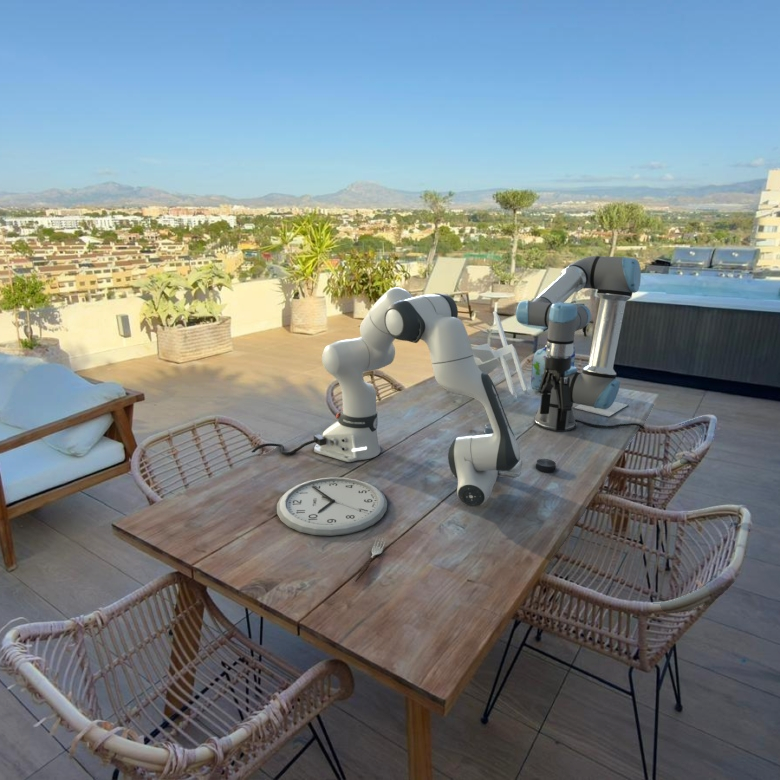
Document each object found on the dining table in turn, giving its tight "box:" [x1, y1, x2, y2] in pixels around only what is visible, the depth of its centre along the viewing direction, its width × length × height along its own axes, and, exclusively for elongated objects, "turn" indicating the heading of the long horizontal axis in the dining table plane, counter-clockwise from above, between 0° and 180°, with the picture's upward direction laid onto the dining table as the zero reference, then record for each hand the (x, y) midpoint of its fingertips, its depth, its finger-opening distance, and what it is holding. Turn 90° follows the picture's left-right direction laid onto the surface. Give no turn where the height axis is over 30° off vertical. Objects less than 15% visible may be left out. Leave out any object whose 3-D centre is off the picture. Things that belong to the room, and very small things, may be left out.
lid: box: [535, 458, 557, 473], centre depth 167 cm, size 6×6×2 cm
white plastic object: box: [471, 310, 531, 400], centre depth 245 cm, size 37×45×31 cm
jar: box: [483, 423, 494, 435], centre depth 161 cm, size 5×5×16 cm
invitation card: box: [573, 401, 629, 418], centre depth 226 cm, size 21×1×15 cm
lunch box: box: [530, 346, 576, 392], centre depth 248 cm, size 26×11×21 cm, turn 134°
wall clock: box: [276, 476, 388, 537], centre depth 142 cm, size 30×2×30 cm
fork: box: [354, 536, 387, 583], centre depth 118 cm, size 3×16×2 cm, turn 160°
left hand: (490, 452), depth 162 cm, fingers closed on jar, 5 cm apart
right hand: (551, 421), depth 163 cm, fingers open, 13 cm apart
